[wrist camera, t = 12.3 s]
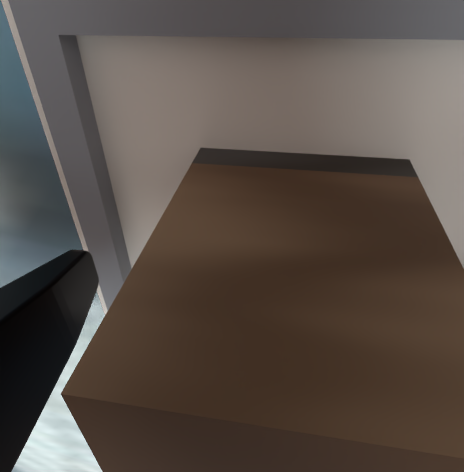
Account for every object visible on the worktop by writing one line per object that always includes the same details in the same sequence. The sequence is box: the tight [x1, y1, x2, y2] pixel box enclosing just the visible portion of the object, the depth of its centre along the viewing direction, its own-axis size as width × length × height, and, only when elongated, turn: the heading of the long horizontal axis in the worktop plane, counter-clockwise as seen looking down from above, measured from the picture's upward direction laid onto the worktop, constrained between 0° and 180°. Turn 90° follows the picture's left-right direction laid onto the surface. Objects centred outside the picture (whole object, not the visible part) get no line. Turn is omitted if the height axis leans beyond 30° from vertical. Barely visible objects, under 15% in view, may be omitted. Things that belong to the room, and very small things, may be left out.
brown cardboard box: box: [61, 148, 464, 472], centre depth 7 cm, size 4×4×6 cm
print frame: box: [1, 0, 464, 315], centre depth 9 cm, size 12×12×1 cm
